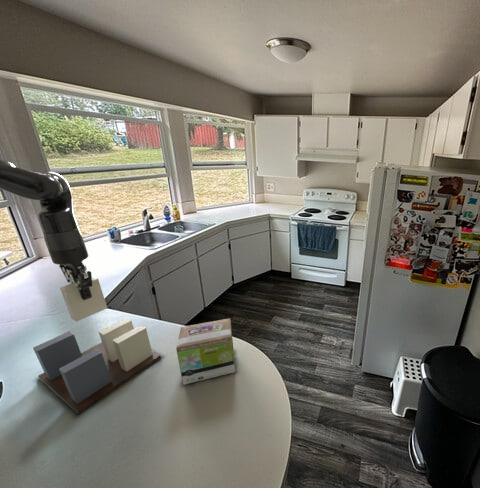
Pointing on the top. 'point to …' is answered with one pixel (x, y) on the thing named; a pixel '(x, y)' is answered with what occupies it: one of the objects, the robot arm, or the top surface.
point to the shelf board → (117, 380)
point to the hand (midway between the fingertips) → (84, 296)
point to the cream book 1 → (83, 307)
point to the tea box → (205, 350)
